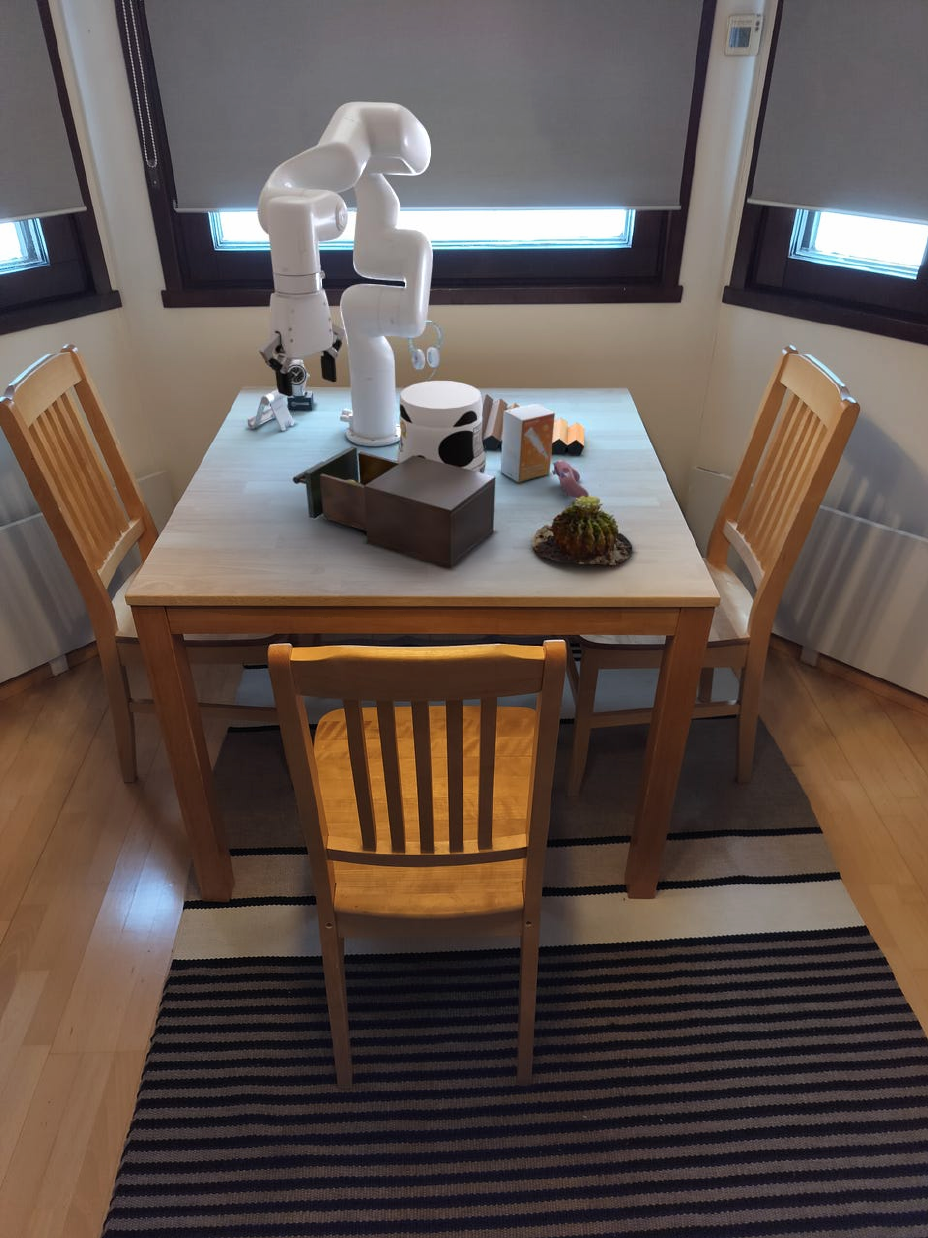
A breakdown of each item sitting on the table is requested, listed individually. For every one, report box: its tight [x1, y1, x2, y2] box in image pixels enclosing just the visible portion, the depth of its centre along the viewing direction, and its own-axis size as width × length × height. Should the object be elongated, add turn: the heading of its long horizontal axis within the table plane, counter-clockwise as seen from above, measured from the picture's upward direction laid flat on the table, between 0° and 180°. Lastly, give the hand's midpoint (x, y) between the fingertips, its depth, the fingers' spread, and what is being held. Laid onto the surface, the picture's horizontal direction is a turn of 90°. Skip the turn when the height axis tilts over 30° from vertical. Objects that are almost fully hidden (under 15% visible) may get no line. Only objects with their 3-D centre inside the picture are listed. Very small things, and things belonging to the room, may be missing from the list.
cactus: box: [531, 495, 633, 566], centre depth 140 cm, size 17×16×10 cm
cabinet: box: [364, 455, 496, 570], centre depth 142 cm, size 17×15×11 cm
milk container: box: [395, 380, 487, 474], centre depth 158 cm, size 17×17×18 cm
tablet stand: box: [247, 388, 295, 432], centre depth 185 cm, size 9×8×8 cm
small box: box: [500, 403, 556, 483], centre depth 164 cm, size 8×6×13 cm
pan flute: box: [481, 393, 585, 456], centre depth 186 cm, size 25×3×25 cm
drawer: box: [292, 445, 402, 532], centre depth 149 cm, size 21×14×9 cm, turn 60°
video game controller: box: [551, 458, 590, 499], centre depth 160 cm, size 10×5×7 cm, turn 5°
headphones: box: [408, 319, 443, 382], centre depth 192 cm, size 8×4×20 cm, turn 120°
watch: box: [286, 359, 315, 412], centre depth 194 cm, size 6×8×11 cm
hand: (308, 387), depth 143 cm, fingers open, 9 cm apart
